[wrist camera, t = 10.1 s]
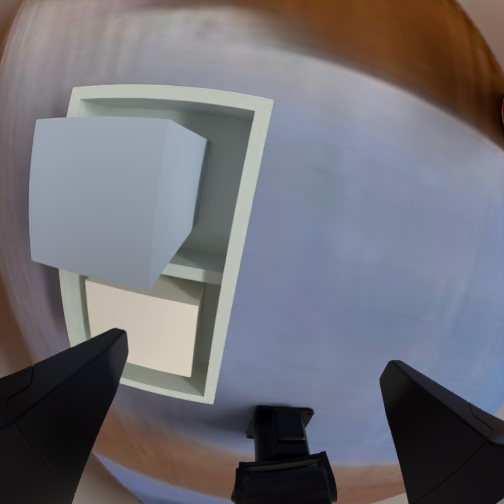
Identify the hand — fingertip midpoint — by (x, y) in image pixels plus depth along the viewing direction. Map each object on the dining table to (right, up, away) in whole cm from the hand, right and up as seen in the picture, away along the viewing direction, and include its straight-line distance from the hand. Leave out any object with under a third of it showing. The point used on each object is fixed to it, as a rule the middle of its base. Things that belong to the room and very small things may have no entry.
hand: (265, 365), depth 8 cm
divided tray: (-7, +4, +12) cm, 14 cm away
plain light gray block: (-6, +8, +9) cm, 14 cm away
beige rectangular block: (-8, -1, +12) cm, 15 cm away
